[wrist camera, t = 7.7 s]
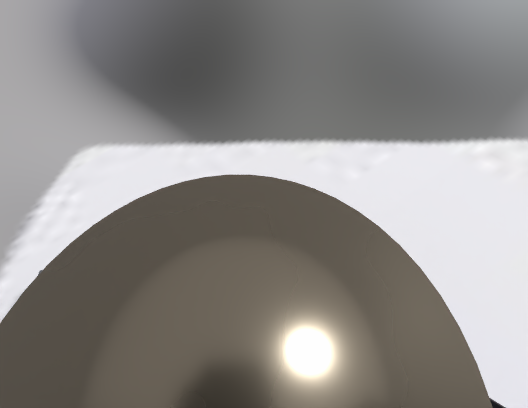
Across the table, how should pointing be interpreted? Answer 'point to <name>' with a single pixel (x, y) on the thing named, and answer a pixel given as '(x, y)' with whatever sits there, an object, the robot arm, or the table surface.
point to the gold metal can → (235, 310)
